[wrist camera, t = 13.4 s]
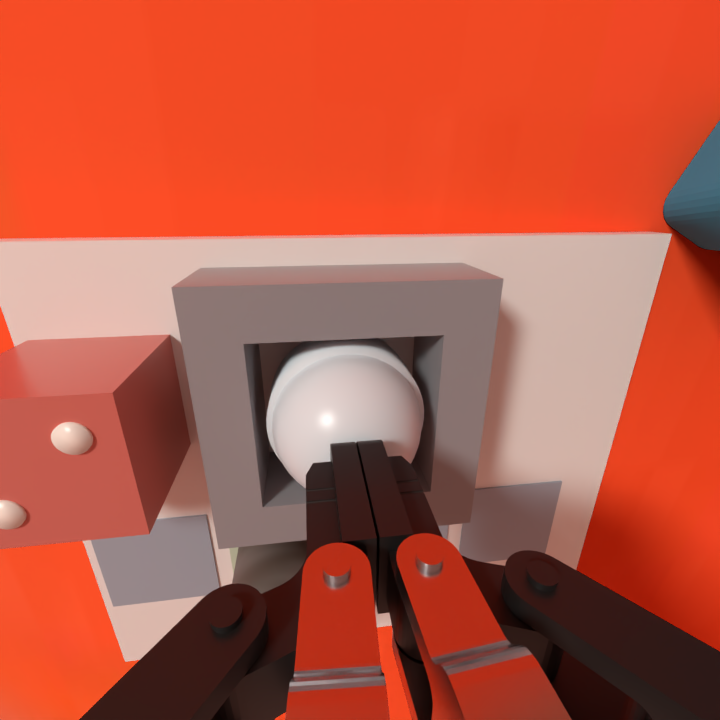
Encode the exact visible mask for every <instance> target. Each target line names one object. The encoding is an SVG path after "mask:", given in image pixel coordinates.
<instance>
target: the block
mask: <svg viewBox="0 0 720 720" xmlns="http://www.w3.org/2000/svg"><path fill="white" fill-rule="evenodd" d="M663 213H664V218H665V220H666V222H667V224H668V225H669V226H671V227H672V228H673V229H675V230H676V231H678V232H679V233H680V234H682V235H683V236H685V237H686V238H687V239H689V240H690V241H692V242H693V243H694V244H696V245H697V246H699V247H701V248H703V249H708V250H717V251H720V121H719V122H718V123H717V125H716V126H715V128H714V129H713V131H712V132H711V134H710V135H709V136H708V138H707V139H706V141H705V142H704V144H703V145H702V147H701V148H700V149H699V151H698V152H697V154H696V155H695V157H694V158H693V160H692V161H691V162H690V164H689V165H688V167H687V168H686V170H685V171H684V173H683V174H682V175H681V177H680V178H679V180H678V181H677V183H676V184H675V186H674V187H673V188H672V190H671V191H670V193H669V195H668V196H667V198H666V201H665V204H664V210H663Z"/></svg>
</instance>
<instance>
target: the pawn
mask: <svg viewBox="0 0 720 720" xmlns="http://www.w3.org/2000/svg"><path fill="white" fill-rule="evenodd" d="M306 553H307V540H302V541H292V542H283V543H273V544H264V545H255V546H245V547H239V548H238V553H237V559H236V564H235V569H234V575H233V580H232V584H237V583H239V584H246V585H250V586H252V587H254V588H256V589H257V590H258V591H259V592H260V593H261V594H262V593H264V592H266V591H268V590H271V589H273V588H275V587H278V586H280V585H282V584H284V583H285V582H287V581H288V580H290V579H291V578H292V577H293V576H294V575H295V574H296V573H297V572H298V571H299V570H300V568H301V567H302V565H303V563H304V561H305V558H306Z"/></svg>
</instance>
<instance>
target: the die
mask: <svg viewBox="0 0 720 720" xmlns="http://www.w3.org/2000/svg"><path fill="white" fill-rule="evenodd" d="M190 445H191V443H190V438H189V432H188V427H187V422H186V417H185V411H184V406H183V401H182V396H181V390H180V385H179V380H178V375H177V369H176V364H175V359H174V354H173V348H172V343H171V338H170V334H169V335H144V336H119V337H94V338H69V339H44V340H27V341H25V342H23V343H21V344H19V345H17V346H15V347H13V348H11V349H9V350H7V351H5V352H3V353H1V354H0V549H6V548H16V547H26V546H36V545H46V544H56V543H66V542H76V541H86V540H96V539H106V538H116V537H126V536H136V535H147V534H150V532H151V530H152V528H153V526H154V524H155V521H156V519H157V517H158V515H159V513H160V510H161V508H162V506H163V504H164V502H165V500H166V497H167V495H168V493H169V491H170V489H171V486H172V484H173V482H174V480H175V478H176V475H177V473H178V471H179V469H180V467H181V465H182V462H183V460H184V458H185V456H186V454H187V451H188V449H189V447H190Z"/></svg>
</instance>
